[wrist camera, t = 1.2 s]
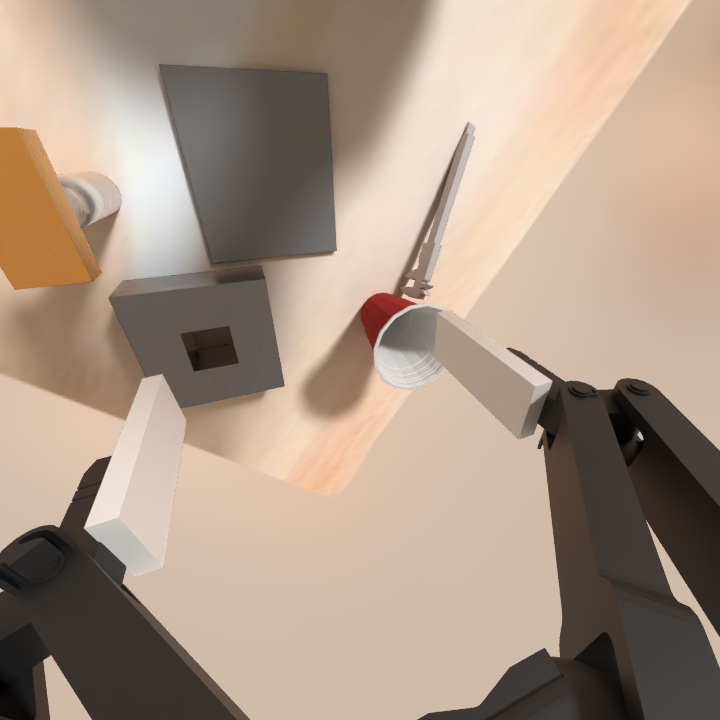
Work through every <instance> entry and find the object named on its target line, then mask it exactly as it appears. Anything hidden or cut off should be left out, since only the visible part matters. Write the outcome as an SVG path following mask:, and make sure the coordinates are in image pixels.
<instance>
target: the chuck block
mask: <svg viewBox="0 0 720 720" xmlns="http://www.w3.org/2000/svg"><path fill="white" fill-rule="evenodd" d="M108 298H109V300H110V302H111V305H112V307H113V309H114V311H115V313H116V315H117V317H118V319H119V321H120V323H121V326H122V328H123V330H124V332H125V334H126V336H127V338H128V340H129V342H130V344H131V347H132V349H133V351H134V353H135V355H136V357H137V359H138V361H139V363H140V365H141V368H142V370H143V372H144V374H145V376H146V378H147V377H151V376H156V375H160V374H163V376H164V378H165V380H166V382H167V384H168V386H169V388H170V390H171V391H172V393H173V395H174V397H175V399H176V401H177V403H178V405H179V407H180V408H185V407H190V406H194V405H199V404H204V403H208V402H213V401H218V400H222V399H227V398H232V397H237V396H241V395H246V394H251V393H255V392H260V391H265V390H269V389H274V388H279V387H283V386H285V385H284V380H283V374H282V369H281V363H280V358H279V352H278V347H277V341H276V336H275V330H274V325H273V319H272V314H271V309H270V303H269V298H268V292H267V287H266V281H265V277H264V274H263V270H262V267H261V266H255V267H246V268H237V269H227V270H218V271H209V272H200V273H190V274H181V275H172V276H163V277H154V278H144V279H135V280H126V281H122V282H121V284H120V285H119V286H118V287H117V288H116V289H115V290H114V292H113V293H112V294H111V295H110V296H109V297H108ZM226 326H229V328H230V332H231V336H232V339H233V343H234V344H230V345H224V346H218V347H212V348H206V349H200V350H197V347H196V344H195V342H194V339H193V336H192V333H191V332H194V331H200V330H207V329H213V328H220V327H226Z"/></svg>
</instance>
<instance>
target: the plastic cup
mask: <svg viewBox="0 0 720 720" xmlns="http://www.w3.org/2000/svg"><path fill="white" fill-rule="evenodd" d="M442 311H447V309H446V308H444V307H442V306H438V305H435V304H431V303H423V304H416V303H414V302H411V301H408V300H406V299H403V298H399V297H397V296H394V295H391V294H388V293H379V294H375V295H373V296H372V297H370V298H369V299H368V300H367V301H366V302H365V304H364V306H363V308H362V311H361V317H362V323H363V325H364V327H365V332H366V334H367V337H368V339H369V342H370V344H371V346H372V349H373V353H374V367H375V369H376V371H377V372H378V374H379V376H380V378H381V380H382V381H384V382H385V383H387V384H388V385H390V386H391V387H393V388H398V389H405V390H410V389H415V388H419V387H422V386H425V385H427V384H428V383H430V382H432V381H433V380H435V379H437V378H438V377H439V376H440V375H441V374H442V373H443V372H444V371H445V369H446V368H445V367H444V366H443V365H442V364H441V363H440V362H439V361H438V360H437V359H436V358H435V357H434V347H435V336H436V324H437V313H438V312H442Z"/></svg>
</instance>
